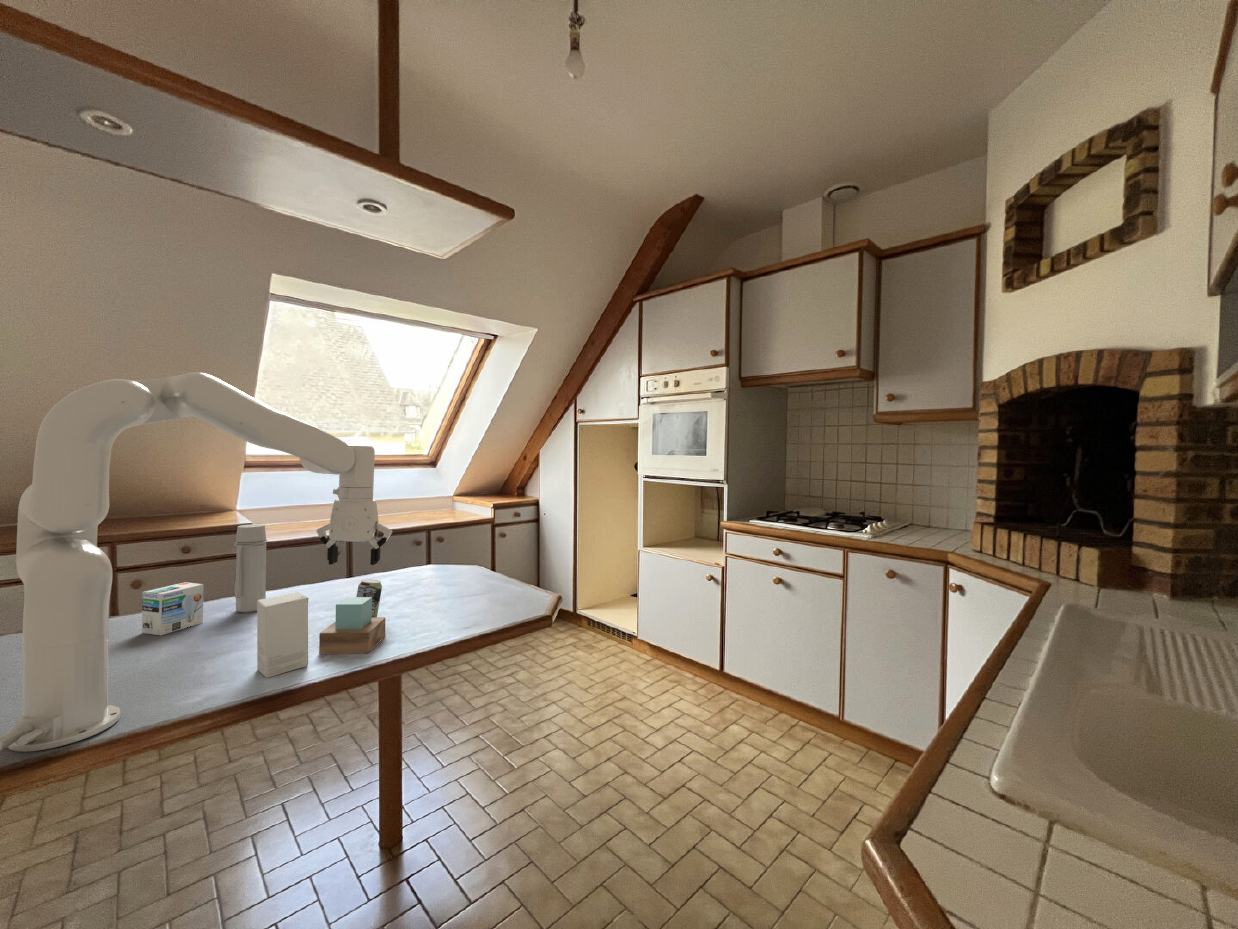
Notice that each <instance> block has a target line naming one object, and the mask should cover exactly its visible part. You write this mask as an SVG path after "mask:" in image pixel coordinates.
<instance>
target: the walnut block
mask: <svg viewBox="0 0 1238 929" xmlns="http://www.w3.org/2000/svg"><path fill="white" fill-rule="evenodd" d="M335 622H336V621H334V622H333V623H331V624H330V625H329V626H327V627H326V628H325V629H324V630H321V631H320V632H319V636H318V638H319V642H318V644H319V645H318V654H319V655H351V654H350V653H366V654H369V653H370V652H371V651H372V650H373V649H374V648H375V647H376V646H377V645H378V644H379V643H380V642H381V641H382V640H383V639H384V638H385V637H386V617H381V616H380V617H378V616H377V617H372V621H371V622H369V623H368V624H367V625H366V626H364V627H363V628H362V629H335ZM384 636H385V637H384ZM383 637H384V638H383ZM382 638H383V639H382ZM381 639H382V640H381ZM380 640H381V641H380ZM379 641H380V642H379ZM378 642H379V643H378ZM377 643H378V644H377ZM376 644H377V645H376ZM375 645H376V646H375ZM374 646H375V647H374ZM373 647H374V648H373ZM372 648H373V649H372ZM371 649H372V650H371ZM370 650H371V651H370ZM369 651H370V652H369ZM368 652H369V653H368ZM346 653H347V654H346Z"/></svg>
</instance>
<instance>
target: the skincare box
mask: <svg viewBox="0 0 1238 929" xmlns="http://www.w3.org/2000/svg"><path fill="white" fill-rule="evenodd" d="M256 617H257V618H256V621H257V622H256V628H257V629H256V635H257V636H256V638H257V640H256V642H257V643H256V646H257V648H256V649H257V650H256V653H257V654H256V656H257V657H256V661H257V662H256V663H257V664H256V665H257V667H256V668H257V671H259V672H260V674H262V675H263V676H264V677H265V679H269V678H272V677H274V676H279V675H281V674H285V673H288V672H291V671H294V670H298V669H302V668H305V667H308V666H309V597H308V596H306V595H305V594H303V593H300V592H298V591H297V592H293V593H287V594H282V595H277V596H273V597H272V596H271V597H266V599H260V600H257V611H256Z"/></svg>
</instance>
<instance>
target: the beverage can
mask: <svg viewBox="0 0 1238 929" xmlns="http://www.w3.org/2000/svg"><path fill="white" fill-rule="evenodd" d="M382 589H383V585H382V583H381V580H378V579H362V580H361V581H360V583H359V584H358V586H357V592H356V596H355V597H372V617H378V614H379V608H380V602H381V601H380V600H381V596H382Z"/></svg>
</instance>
